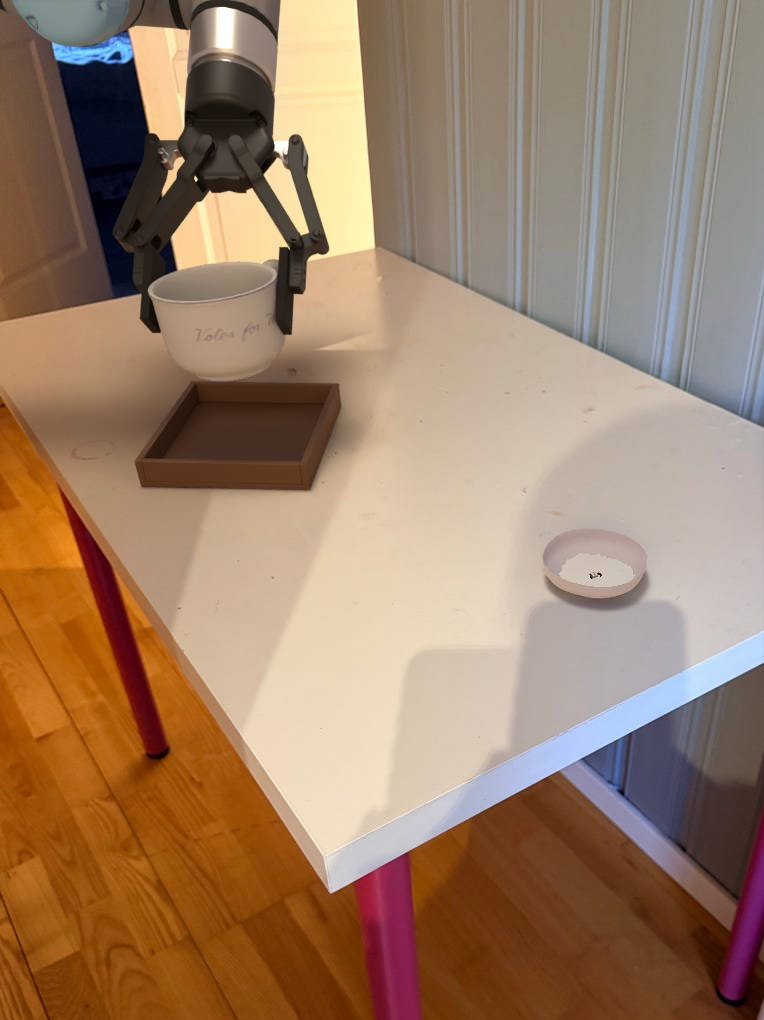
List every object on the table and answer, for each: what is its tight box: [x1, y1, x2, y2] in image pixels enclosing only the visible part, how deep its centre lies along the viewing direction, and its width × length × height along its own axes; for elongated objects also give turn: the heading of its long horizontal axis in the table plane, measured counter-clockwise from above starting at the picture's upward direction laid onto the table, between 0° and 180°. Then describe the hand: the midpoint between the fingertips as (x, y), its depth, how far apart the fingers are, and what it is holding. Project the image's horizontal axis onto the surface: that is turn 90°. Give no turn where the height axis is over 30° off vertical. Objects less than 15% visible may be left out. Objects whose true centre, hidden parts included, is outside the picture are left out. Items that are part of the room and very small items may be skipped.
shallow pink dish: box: [542, 528, 648, 599], centre depth 70 cm, size 8×8×2 cm
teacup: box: [148, 258, 286, 382], centre depth 80 cm, size 14×11×8 cm
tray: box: [134, 380, 342, 491], centre depth 87 cm, size 15×17×2 cm
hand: (216, 327), depth 78 cm, fingers closed on teacup, 11 cm apart
